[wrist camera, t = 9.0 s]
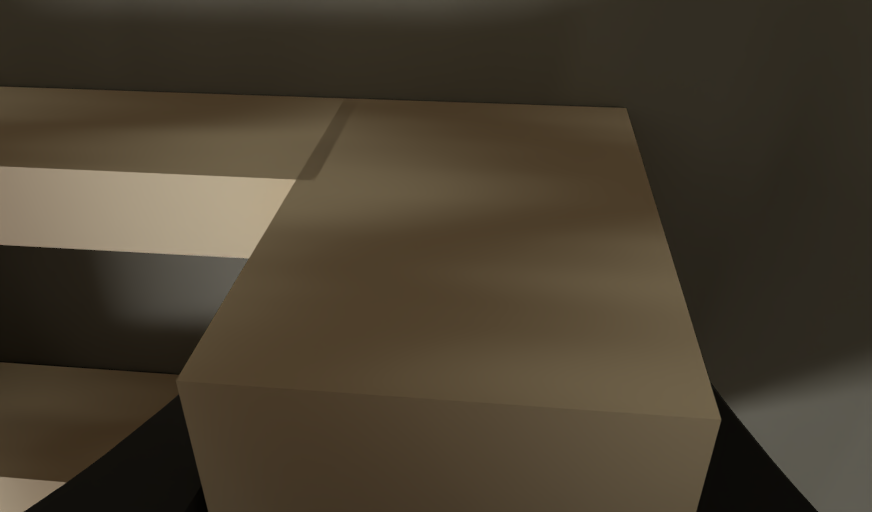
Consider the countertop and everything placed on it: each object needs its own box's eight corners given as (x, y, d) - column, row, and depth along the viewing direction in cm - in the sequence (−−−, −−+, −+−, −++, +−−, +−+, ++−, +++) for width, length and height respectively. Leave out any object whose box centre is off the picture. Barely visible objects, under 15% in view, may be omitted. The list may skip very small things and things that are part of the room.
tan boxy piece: (642, -16, 9) (778, 210, 4) (571, 507, 13) (592, 888, 9) (-286, -35, 10) (-1039, 128, 5) (-46, 456, 14) (-318, 771, 10)
